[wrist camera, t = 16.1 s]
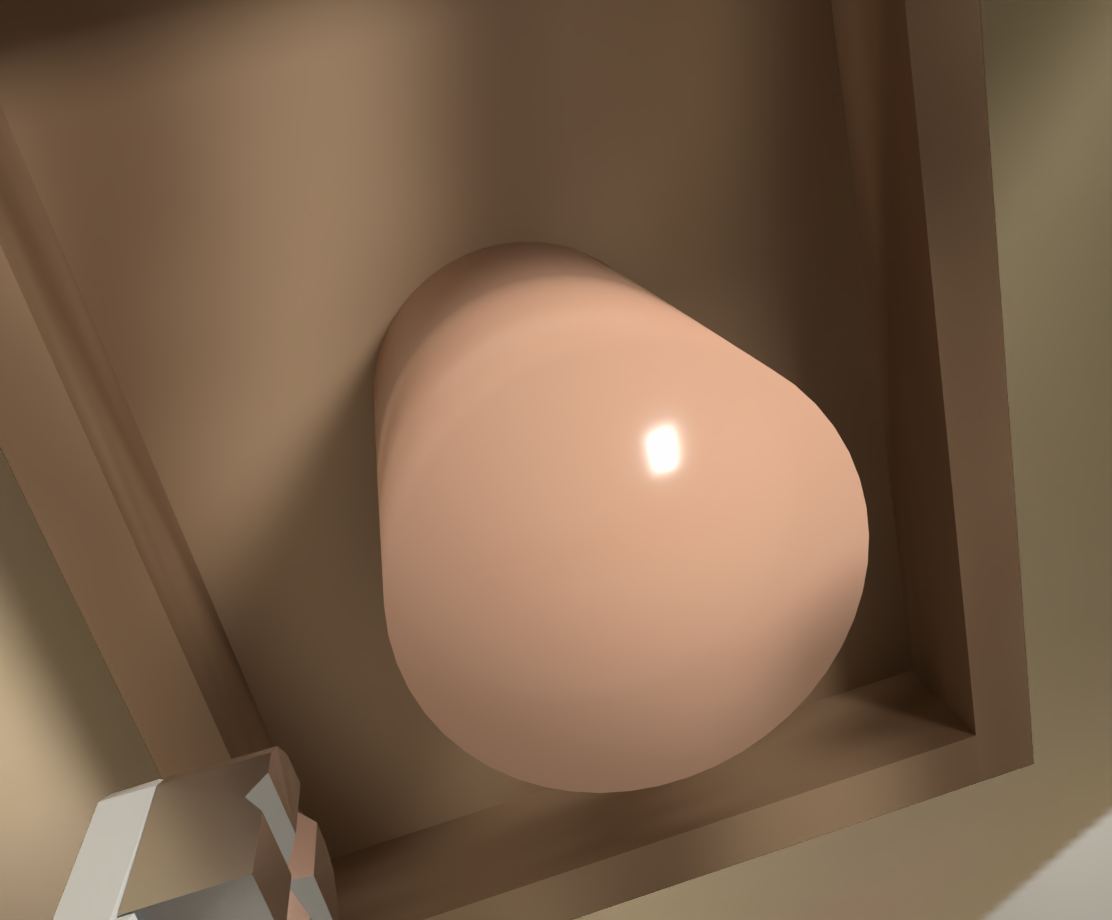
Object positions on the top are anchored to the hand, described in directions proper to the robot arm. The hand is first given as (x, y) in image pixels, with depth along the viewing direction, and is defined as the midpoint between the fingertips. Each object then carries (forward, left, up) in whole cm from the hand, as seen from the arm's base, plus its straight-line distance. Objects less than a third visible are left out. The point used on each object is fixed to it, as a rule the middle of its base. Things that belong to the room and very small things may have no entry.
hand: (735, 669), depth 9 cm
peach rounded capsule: (0, 0, -10) cm, 10 cm away
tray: (0, 0, -11) cm, 11 cm away
